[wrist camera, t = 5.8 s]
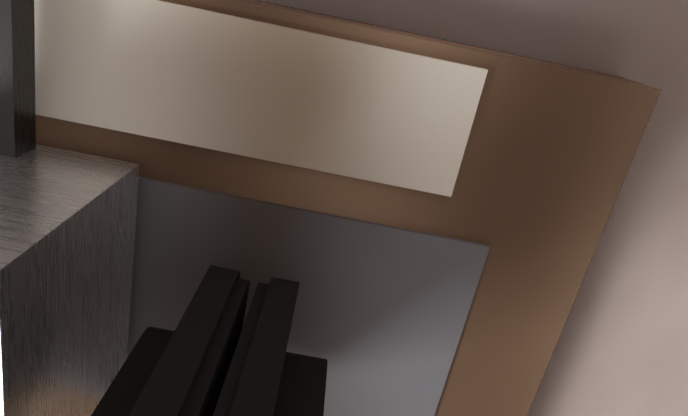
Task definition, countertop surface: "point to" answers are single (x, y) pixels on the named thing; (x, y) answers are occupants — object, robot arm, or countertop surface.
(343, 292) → the base
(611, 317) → the countertop surface
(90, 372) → the gauge slider
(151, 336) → the robot arm
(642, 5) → the countertop surface
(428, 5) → the countertop surface
